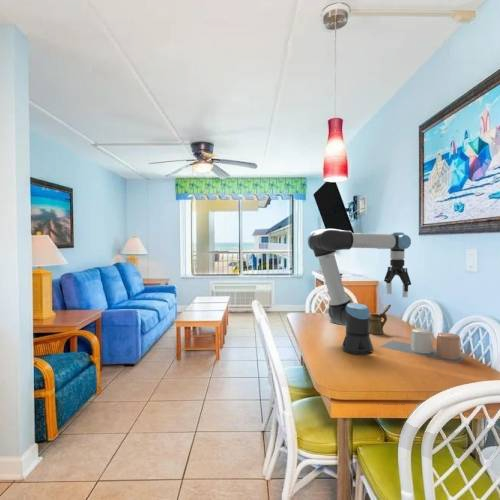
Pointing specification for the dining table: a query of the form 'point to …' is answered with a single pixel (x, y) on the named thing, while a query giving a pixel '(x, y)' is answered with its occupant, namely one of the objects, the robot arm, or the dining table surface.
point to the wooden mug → (378, 322)
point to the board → (407, 348)
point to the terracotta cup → (448, 345)
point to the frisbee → (334, 322)
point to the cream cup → (421, 340)
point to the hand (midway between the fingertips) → (396, 295)
